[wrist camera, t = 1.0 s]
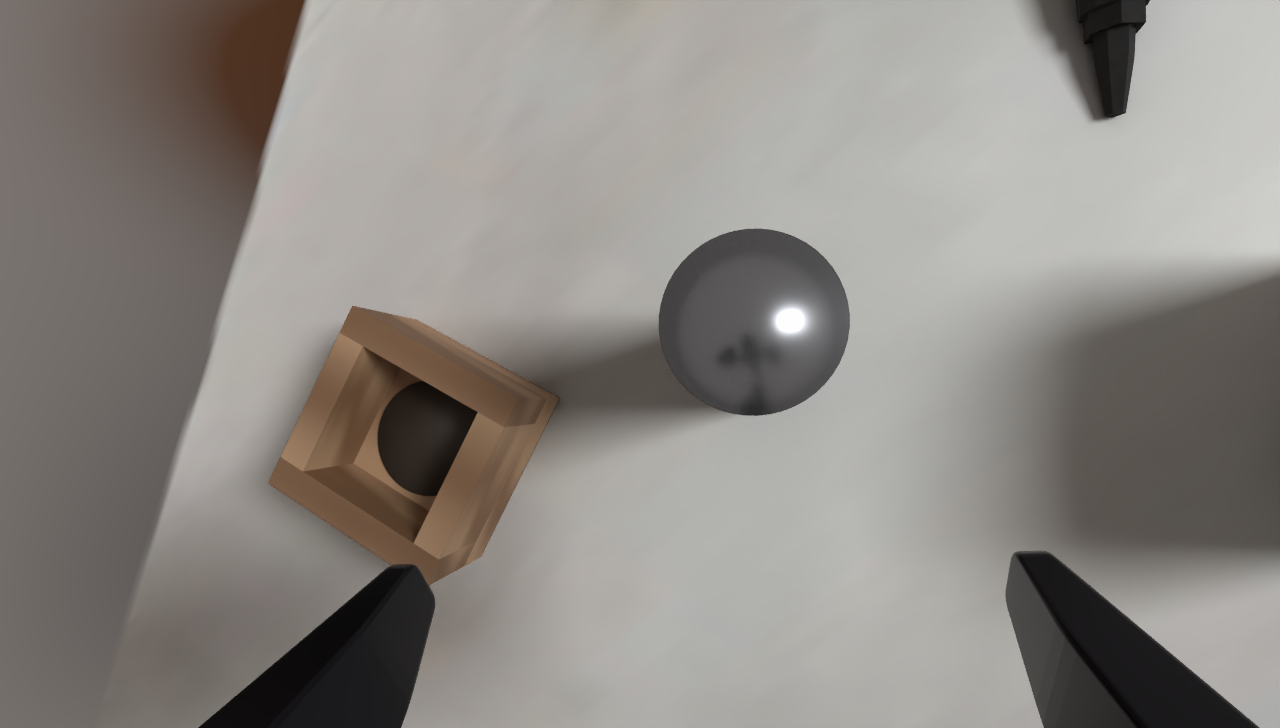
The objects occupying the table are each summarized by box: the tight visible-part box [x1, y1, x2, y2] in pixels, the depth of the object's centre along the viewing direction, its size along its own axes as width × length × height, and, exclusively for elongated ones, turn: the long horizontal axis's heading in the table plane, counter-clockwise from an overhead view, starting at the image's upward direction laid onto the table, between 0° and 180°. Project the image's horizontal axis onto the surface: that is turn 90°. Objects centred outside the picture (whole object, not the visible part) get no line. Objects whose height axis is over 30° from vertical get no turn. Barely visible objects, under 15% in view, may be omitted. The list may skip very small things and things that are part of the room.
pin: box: [659, 229, 850, 416], centre depth 19 cm, size 4×4×12 cm
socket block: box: [268, 306, 560, 585], centre depth 26 cm, size 8×8×4 cm
